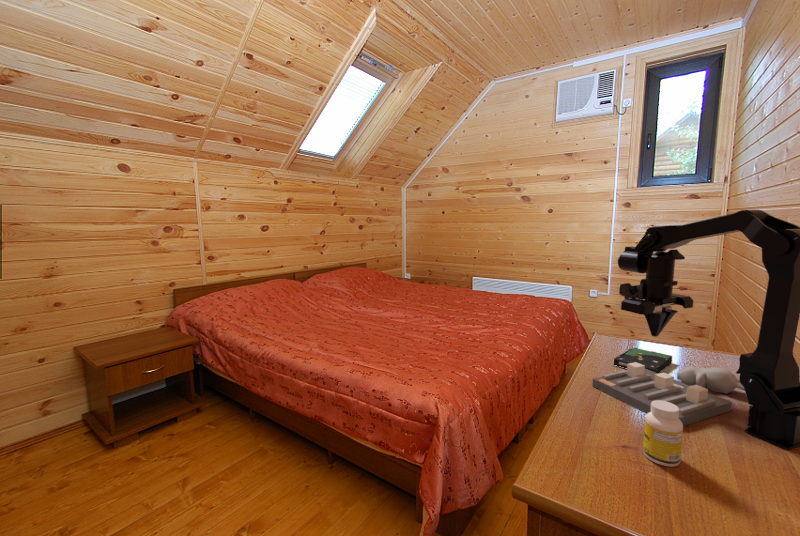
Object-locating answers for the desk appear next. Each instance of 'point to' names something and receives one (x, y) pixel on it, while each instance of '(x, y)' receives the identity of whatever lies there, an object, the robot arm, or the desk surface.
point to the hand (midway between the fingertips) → (654, 336)
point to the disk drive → (644, 359)
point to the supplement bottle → (663, 434)
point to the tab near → (696, 394)
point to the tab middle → (663, 381)
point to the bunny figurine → (710, 378)
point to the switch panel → (659, 395)
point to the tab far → (635, 369)
